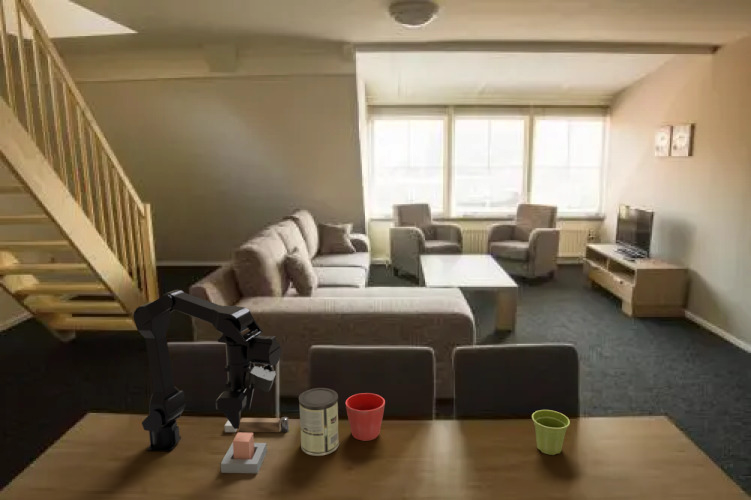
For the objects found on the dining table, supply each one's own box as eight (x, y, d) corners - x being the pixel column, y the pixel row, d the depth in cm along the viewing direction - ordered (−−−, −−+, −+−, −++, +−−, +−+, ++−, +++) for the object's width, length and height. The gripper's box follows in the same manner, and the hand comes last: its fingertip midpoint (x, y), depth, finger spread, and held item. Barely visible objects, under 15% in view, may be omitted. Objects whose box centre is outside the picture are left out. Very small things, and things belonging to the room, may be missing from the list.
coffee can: (305, 433, 137) (304, 386, 134) (341, 435, 136) (341, 388, 133) (296, 455, 127) (294, 405, 124) (335, 457, 126) (334, 407, 123)
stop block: (225, 432, 138) (224, 425, 137) (228, 426, 141) (228, 420, 140) (235, 432, 138) (235, 425, 137) (238, 426, 141) (238, 420, 140)
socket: (221, 472, 120) (220, 463, 119) (233, 451, 129) (232, 442, 128) (257, 473, 120) (257, 464, 119) (266, 451, 128) (266, 443, 128)
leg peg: (234, 466, 122) (232, 441, 121) (239, 457, 126) (237, 432, 125) (250, 467, 122) (248, 441, 121) (254, 457, 126) (253, 432, 125)
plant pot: (528, 454, 127) (530, 424, 125) (531, 435, 135) (533, 407, 134) (567, 462, 123) (569, 431, 122) (567, 443, 132) (570, 413, 130)
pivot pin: (280, 432, 138) (279, 420, 137) (281, 427, 140) (281, 416, 139) (287, 432, 138) (287, 420, 137) (289, 428, 140) (289, 416, 139)
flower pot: (349, 422, 143) (349, 391, 141) (387, 424, 141) (387, 393, 140) (342, 442, 133) (341, 409, 131) (382, 445, 131) (382, 412, 129)
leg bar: (280, 427, 140) (280, 418, 139) (278, 432, 138) (278, 422, 137) (242, 427, 140) (241, 417, 140) (240, 431, 138) (239, 421, 137)
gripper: (261, 376, 110) (264, 440, 113) (280, 345, 128) (282, 400, 131) (212, 376, 110) (217, 439, 113) (238, 345, 128) (241, 400, 131)
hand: (242, 418), depth 122 cm, fingers open, 9 cm apart
